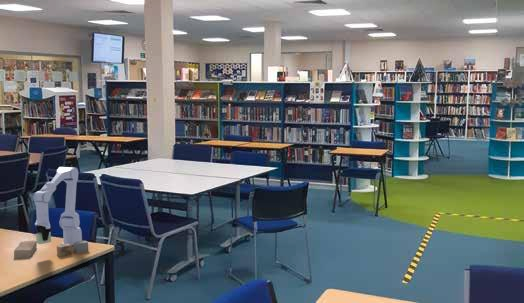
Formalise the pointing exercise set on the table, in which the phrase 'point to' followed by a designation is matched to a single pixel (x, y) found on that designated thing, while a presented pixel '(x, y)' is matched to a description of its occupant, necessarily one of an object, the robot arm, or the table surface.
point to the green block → (40, 239)
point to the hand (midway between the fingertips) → (43, 239)
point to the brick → (25, 249)
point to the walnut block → (64, 249)
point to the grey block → (81, 246)
